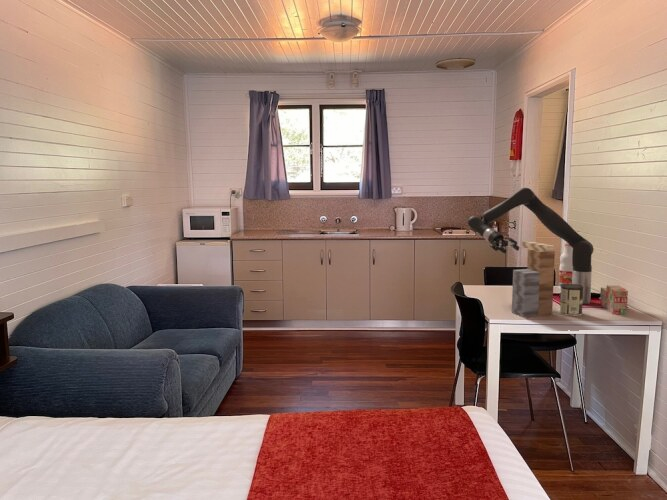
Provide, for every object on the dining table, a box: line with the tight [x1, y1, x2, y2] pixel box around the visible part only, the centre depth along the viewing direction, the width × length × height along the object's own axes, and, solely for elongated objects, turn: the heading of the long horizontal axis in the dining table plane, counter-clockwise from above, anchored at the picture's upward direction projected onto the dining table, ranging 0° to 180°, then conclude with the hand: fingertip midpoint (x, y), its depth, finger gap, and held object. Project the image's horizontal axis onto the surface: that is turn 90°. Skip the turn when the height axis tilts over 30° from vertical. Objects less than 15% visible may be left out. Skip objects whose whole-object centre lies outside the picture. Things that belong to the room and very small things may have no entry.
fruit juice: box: [558, 242, 573, 291], centre depth 308 cm, size 9×9×28 cm
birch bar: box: [521, 240, 555, 252], centre depth 256 cm, size 20×4×3 cm, turn 15°
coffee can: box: [559, 284, 584, 317], centre depth 256 cm, size 10×10×14 cm
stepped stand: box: [511, 248, 556, 318], centre depth 255 cm, size 10×16×32 cm, turn 105°
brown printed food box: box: [599, 284, 629, 316], centre depth 263 cm, size 21×6×12 cm, turn 169°
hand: (512, 250), depth 276 cm, fingers open, 8 cm apart
